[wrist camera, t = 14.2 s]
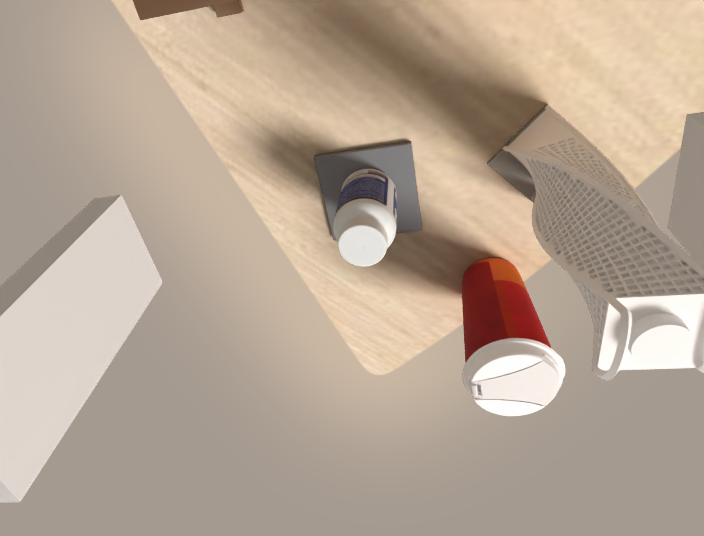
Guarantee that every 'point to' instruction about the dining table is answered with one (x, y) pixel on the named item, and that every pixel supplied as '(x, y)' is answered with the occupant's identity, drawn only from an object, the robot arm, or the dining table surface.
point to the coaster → (383, 158)
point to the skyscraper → (608, 249)
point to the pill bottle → (366, 217)
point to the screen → (185, 7)
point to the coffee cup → (505, 342)
